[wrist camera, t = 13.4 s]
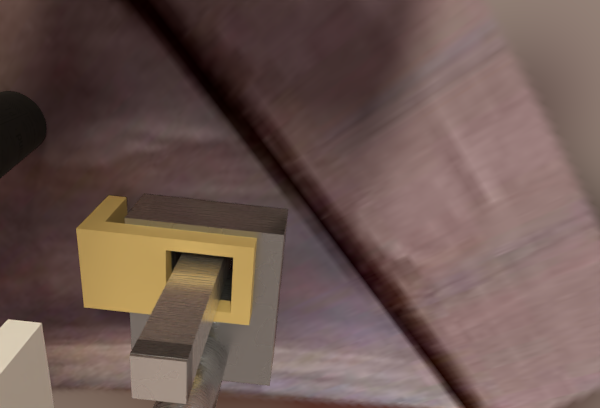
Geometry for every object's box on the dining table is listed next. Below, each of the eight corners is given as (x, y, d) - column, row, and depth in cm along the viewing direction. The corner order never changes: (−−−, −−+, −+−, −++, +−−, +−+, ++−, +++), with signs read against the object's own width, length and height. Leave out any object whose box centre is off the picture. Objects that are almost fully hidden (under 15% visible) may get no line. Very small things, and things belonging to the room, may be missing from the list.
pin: (196, 225, 42) (129, 355, 28) (234, 229, 42) (186, 361, 28) (195, 257, 44) (131, 398, 29) (232, 261, 44) (186, 404, 29)
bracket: (108, 195, 42) (76, 228, 36) (263, 212, 42) (254, 248, 36) (113, 266, 45) (84, 307, 39) (258, 282, 45) (249, 325, 39)
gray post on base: (144, 193, 41) (26, 336, 25) (288, 209, 41) (263, 362, 25) (149, 336, 48) (57, 525, 31) (274, 350, 48) (247, 546, 31)
